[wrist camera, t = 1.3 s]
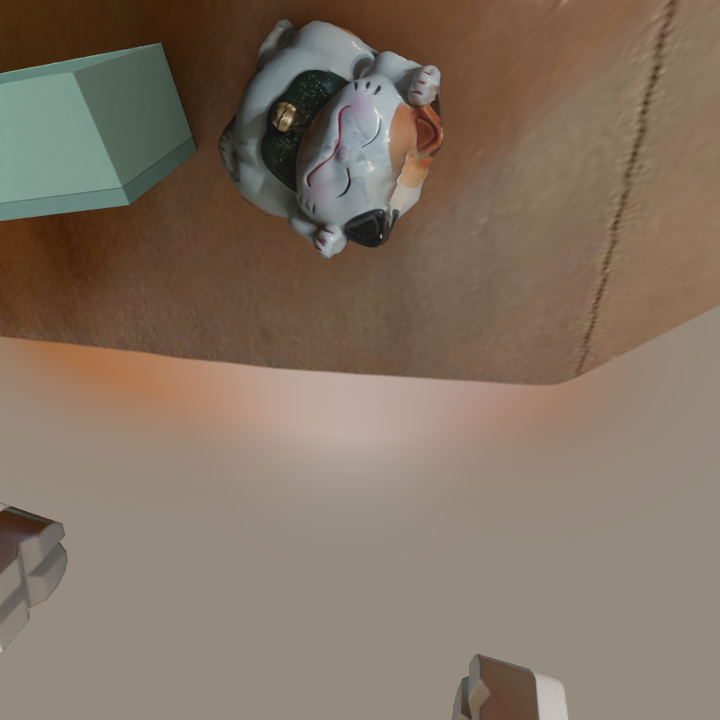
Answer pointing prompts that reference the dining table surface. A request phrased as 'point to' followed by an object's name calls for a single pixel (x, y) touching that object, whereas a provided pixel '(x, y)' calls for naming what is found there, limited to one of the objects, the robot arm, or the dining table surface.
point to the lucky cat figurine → (333, 135)
